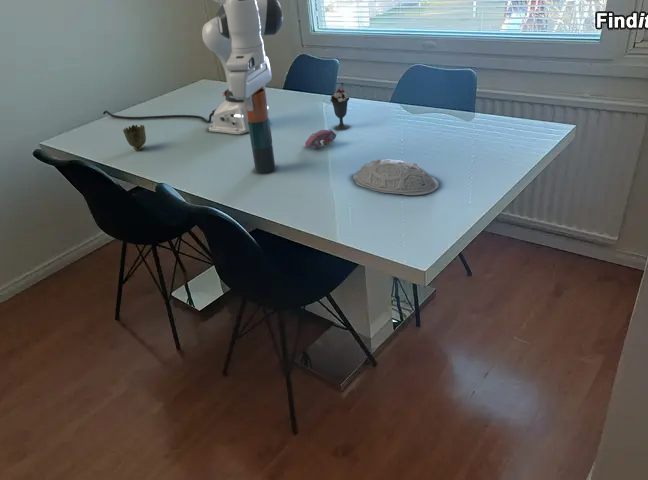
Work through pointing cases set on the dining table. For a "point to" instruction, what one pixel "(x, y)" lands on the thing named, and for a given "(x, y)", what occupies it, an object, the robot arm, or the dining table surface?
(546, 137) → the dining table surface
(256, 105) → the cup
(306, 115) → the dining table surface
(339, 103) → the sundae
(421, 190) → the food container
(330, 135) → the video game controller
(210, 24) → the robot arm
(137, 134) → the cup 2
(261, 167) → the cup stack
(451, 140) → the dining table surface
